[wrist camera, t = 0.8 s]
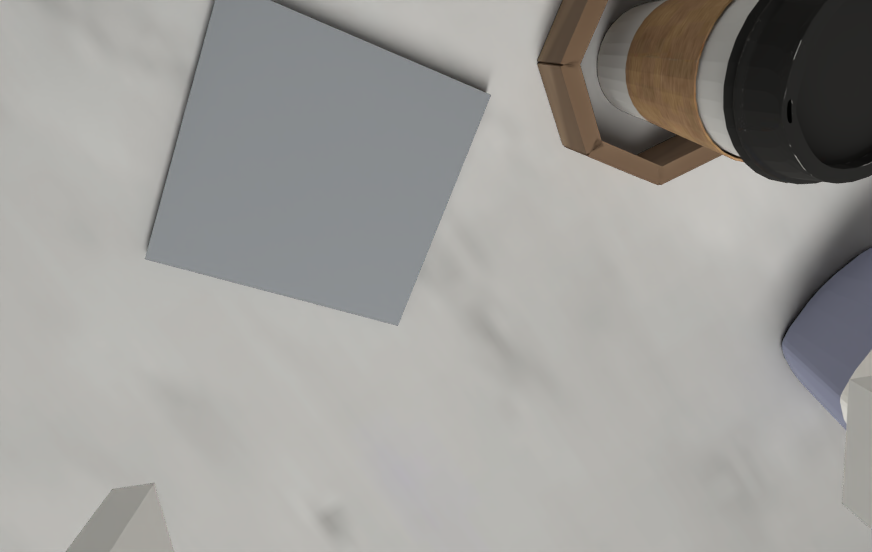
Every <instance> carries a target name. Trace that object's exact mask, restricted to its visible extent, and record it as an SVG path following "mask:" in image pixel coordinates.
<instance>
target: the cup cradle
mask: <svg viewBox="0 0 872 552" xmlns="http://www.w3.org/2000/svg"><path fill="white" fill-rule="evenodd" d="M607 2H608V0H563V1H562V3H561V5H560V8H559V10H558V13H557V15H556V17H555V20H554V22H553V24H552V27H551V29H550V32H549V34H548V36H547V39H546V41H545V44H544V46H543V48H542V51H541V53H540V56H539V58H538V60H537V61H539V62H540V63H538V64H537V65H538V68H539V71H540V74H541V77H542V81H543V84H544V87H545V90H546V93H547V97H548V100H549V103H550V106H551V109H552V113H553V116H554V119H555V122H556V125H557V128H558V132H559V135H560V138H561V141H562V144H563V145H564V147H566V148H569V149H571V150H574V151H576V152H578V153H581V154H583V155H586V156H588V157H590V158H593V159H595V160H598V161H600V162H602V163H605V164H607V165H610V166H612V167H615V168H617V169H619V170H622V171H624V172H627V173H629V174H631V175H634V176H636V177H639V178H641V179H644V180H646V181H649V182H651V183H654V184H656V185H662V184H664V183H666V182H668V181H670V180H672V179H674V178H676V177H678V176H680V175H682V174H684V173H686V172H688V171H690V170H692V169H694V168H696V167H698V166H701V165H703V164H705V163H707V162H709V161H711V160H713V159H715V158H717V157H719V156H721V155H722V154H720V153H718V152H715V151H713V150H711V149H709V148H706V147H704V146H702V145H699V144H697V143H695V142H693V141H690V140H688V139H686V138H684V137H681V136H679V135H676V136H674V137H672V138H670V139H668V140H666V141H664V142H662V143H660V144H658V145H656V146H654V147H652V148H650V149H648V150H646V151H644V152H642V153H639V154H637V155H634V154H632V153H629V152H627V151H625V150H622V149H620V148H618V147H615V146H613V145H611V144H608V143H606V142H604V141H602V140H601V137H600V133H599V130H598V126H597V123H596V119H595V116H594V112H593V109H592V105H591V102H590V98H589V95H588V91H587V88H586V84H585V80H584V77H583V73H582V70H581V66H580V64H581V61H582V59H583V57H584V54H585V52H586V50H587V48H588V45H589V43H590V41H591V38H592V36H593V34H594V32H595V29H596V27H597V25H598V22H599V20H600V18H601V16H602V13H603V11H604V9H605V6H606V4H607Z"/></svg>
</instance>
